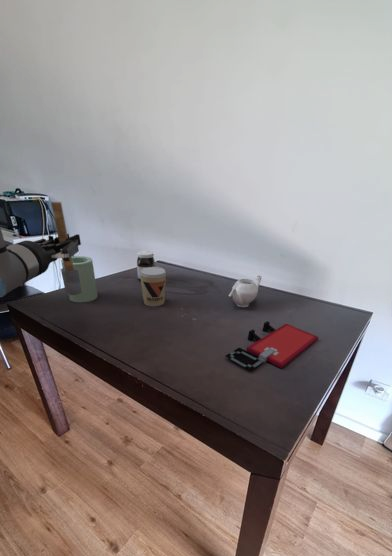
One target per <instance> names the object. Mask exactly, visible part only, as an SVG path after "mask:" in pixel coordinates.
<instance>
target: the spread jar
mask: <svg viewBox="0 0 392 556" xmlns="http://www.w3.org/2000/svg"><path fill="white" fill-rule="evenodd" d="M147 267H158V268H161V267H160V266H158V265H157V266H156V259H155V255H154V252H153V251H151V250H140V251H138V252H137V259H136V270H137V279H138V280H139V281H140V282H141V277H140V271H141V269H143V268H147Z"/></svg>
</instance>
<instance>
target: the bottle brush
mask: <svg viewBox="0 0 392 556" xmlns="http://www.w3.org/2000/svg"><path fill="white" fill-rule="evenodd" d="M50 205H51V210H52V216H53V220H54V225H55V230H56V235H57V237H58V240H59V243H61V242H64V241H66V239H67V238H68V236H67V234H68V231H67V225H66V220H65V216H64V210H63V205H62V201H50ZM72 257H73V256H72ZM72 257H71V258H70V260H69V261H64V260H63V264H64V268H63V267H61V269H60V272H61V276H62V282H63V287H64V291H65V294H66V295H67V296H69V295H77V294H80V293H81V292H82V290H81V285H80V279H79V274H78V269H77V268H76V267H73V262H72Z"/></svg>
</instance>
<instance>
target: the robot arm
mask: <svg viewBox="0 0 392 556" xmlns="http://www.w3.org/2000/svg"><path fill="white" fill-rule="evenodd" d="M67 236H68V238H67V239H66V241H64V242H61V243H59V240H58V236H57V237H54V236H53V235H48V236H47V238H48V239H46V238H41V239H38V240H34V241H32V240H22V241H19V242H16V243H14V244H10V245H6V242H5V238H4V235H3V231H2V228H1V227H0V298H3V297H4V296H6V295H7V294H8V293H10V292H12V291H14V290H15V289H17V288H18V287H22V286H24V284H25V283H28V282H29V281H31V280H33V279H35V278H37V277H39V276H40V275H42V274H44V273H45V272H47V270H48V268H49V267H50V264H51V263H53V262H56V261H57V260H58V259H61V260H64V261H69V260H70V258H71V257H74V256H75V255H76V254H78V252H80V251H79V250H80V249H79V246H81V245H82V243H81V242H82V241H81V237H80V234H74V235H71V236H70V234H69V233H67Z"/></svg>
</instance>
